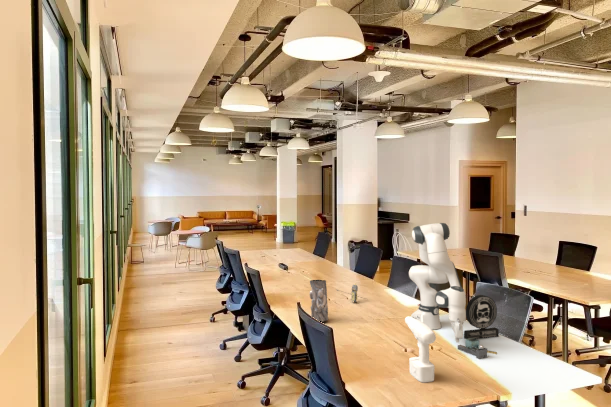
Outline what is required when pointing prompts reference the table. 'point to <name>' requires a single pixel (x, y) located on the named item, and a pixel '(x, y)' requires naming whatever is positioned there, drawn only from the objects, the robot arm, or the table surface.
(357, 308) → the table surface
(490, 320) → the decorative sign
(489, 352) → the gold ball-headed pin
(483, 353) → the grey t-shaped bar
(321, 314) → the sculpture
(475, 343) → the green knobbed cube
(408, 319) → the power drill
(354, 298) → the toy
